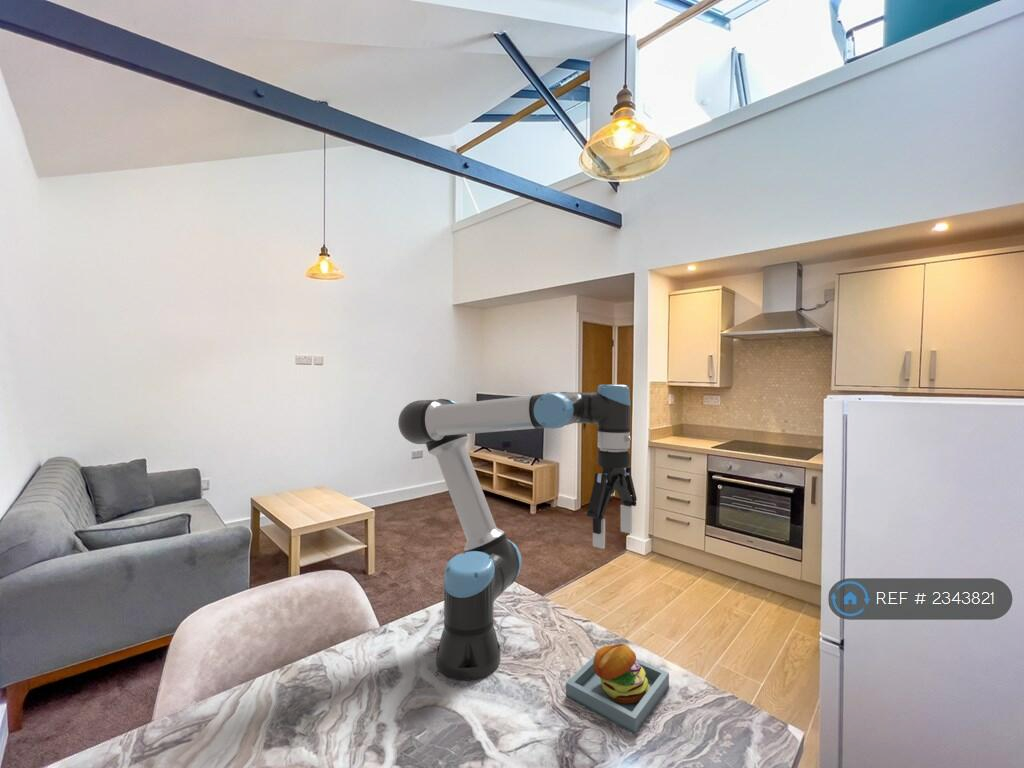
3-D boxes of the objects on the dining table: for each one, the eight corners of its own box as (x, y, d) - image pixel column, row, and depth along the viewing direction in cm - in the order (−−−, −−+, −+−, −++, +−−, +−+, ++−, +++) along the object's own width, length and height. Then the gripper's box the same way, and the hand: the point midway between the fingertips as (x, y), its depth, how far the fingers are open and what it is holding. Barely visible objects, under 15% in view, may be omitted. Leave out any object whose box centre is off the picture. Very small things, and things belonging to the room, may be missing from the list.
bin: (566, 697, 91) (566, 682, 91) (605, 658, 104) (605, 645, 104) (635, 734, 81) (635, 718, 81) (668, 686, 94) (668, 672, 94)
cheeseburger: (650, 714, 85) (638, 662, 86) (597, 713, 89) (585, 663, 89) (652, 680, 95) (640, 634, 95) (604, 681, 98) (593, 636, 99)
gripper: (601, 457, 91) (601, 558, 91) (650, 445, 110) (650, 529, 110) (571, 453, 96) (570, 549, 96) (623, 443, 115) (622, 523, 115)
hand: (613, 539), depth 103 cm, fingers open, 13 cm apart
